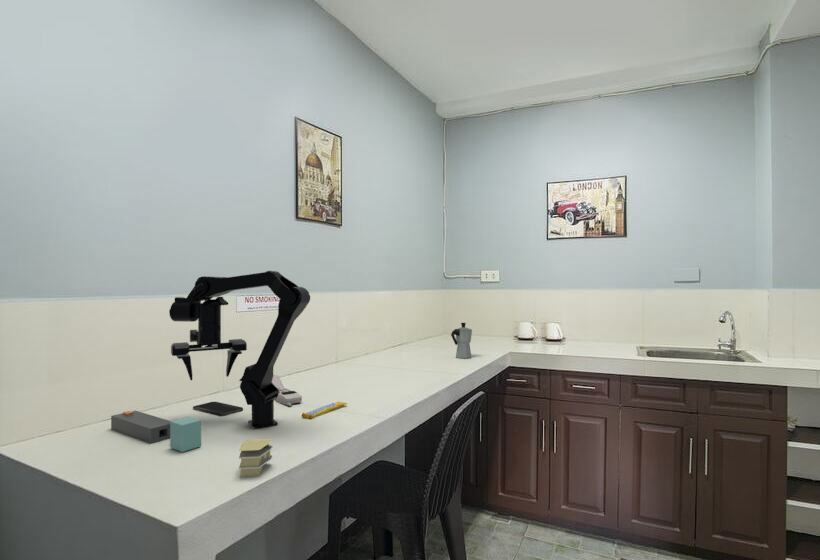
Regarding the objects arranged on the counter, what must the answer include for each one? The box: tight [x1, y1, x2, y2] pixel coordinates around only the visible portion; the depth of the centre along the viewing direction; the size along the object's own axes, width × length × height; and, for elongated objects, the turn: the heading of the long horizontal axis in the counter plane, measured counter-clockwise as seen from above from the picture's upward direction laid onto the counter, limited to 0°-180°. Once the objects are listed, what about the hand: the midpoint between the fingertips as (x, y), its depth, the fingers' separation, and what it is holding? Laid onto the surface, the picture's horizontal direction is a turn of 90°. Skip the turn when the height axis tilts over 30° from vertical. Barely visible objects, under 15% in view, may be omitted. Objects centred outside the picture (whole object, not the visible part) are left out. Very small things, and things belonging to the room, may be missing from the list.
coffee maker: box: [450, 322, 473, 360], centre depth 235 cm, size 15×9×18 cm, turn 130°
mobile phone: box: [272, 374, 303, 408], centre depth 152 cm, size 6×6×25 cm
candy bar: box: [301, 401, 348, 420], centre depth 136 cm, size 17×4×2 cm, turn 149°
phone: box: [192, 401, 244, 417], centre depth 138 cm, size 8×1×15 cm
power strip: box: [110, 410, 172, 444], centre depth 117 cm, size 20×6×4 cm, turn 56°
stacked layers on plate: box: [238, 438, 273, 477], centre depth 93 cm, size 10×9×6 cm
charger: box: [169, 416, 202, 453], centre depth 107 cm, size 8×4×6 cm, turn 56°
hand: (209, 378), depth 126 cm, fingers open, 9 cm apart
